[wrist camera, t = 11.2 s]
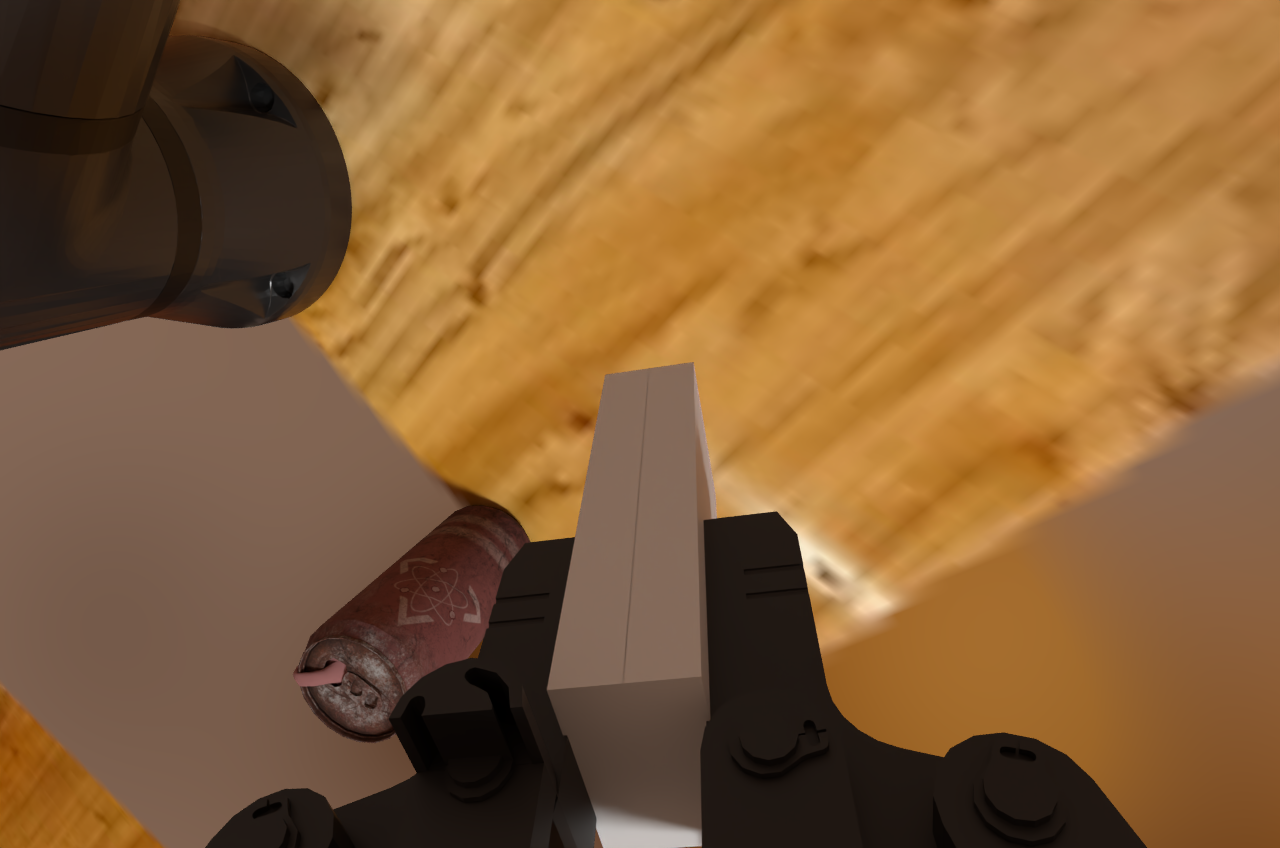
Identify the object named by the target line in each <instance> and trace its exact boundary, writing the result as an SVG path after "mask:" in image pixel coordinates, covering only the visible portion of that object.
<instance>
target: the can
mask: <svg viewBox="0 0 1280 848" xmlns="http://www.w3.org/2000/svg"><path fill="white" fill-rule="evenodd" d="M525 543H530V540H529V538H528V536H527V535H526V533H525V531H524V529H523V528H522V527H521V526H520V524H519V523H518V522H517V521H516V520H515V519H514V518H513V517H511V516H509V515H508V514H506V513H504V512H503V511H501V510H498V509H494V508H490V507H486V506H483V505H481V506H467V507H465V508H462V509H460V510H457V511H455V512H454V513H453V514H452V515H451V516H449V517H448V518H447V519H446V520H445V521H443V522H442V523H441V524H440V525H439V526H438V527H436V528H435V529H434V530H433V531H432V532H431V533H429V534H428V535H427V536H426V537H425V538H423V539H422V540H421V541H420V542H419V543H418V544H416V545H415V546H414V547H413V548H412V549H411V550H409V551H408V552H407V553H406V554H405V555H403V556H402V557H401V558H400V559H399V560H398V561H396V562H395V563H394V564H393V565H392V566H391V567H389V568H388V569H387V570H386V571H385V572H384V573H382V574H381V575H380V576H379V577H378V578H377V579H375V580H374V581H373V582H372V583H371V584H369V585H368V586H367V587H366V588H365V589H364V590H362V591H361V592H360V593H359V594H358V595H357V596H355V597H354V598H353V599H352V600H351V601H349V602H348V603H347V604H346V605H345V606H344V607H343V608H341V609H340V610H339V611H338V612H337V613H336V614H334V615H333V616H332V617H331V618H330V619H328V620H327V621H326V622H325V623H324V624H322V625H321V626H320V627H319V628H318V629H317V630H316V632H314V633H313V634H312V635H311V636H310V639H309V641H308V644H307V647H306V649H305V652H304V653H303V655H302V658H301V661H300V663H299V665H298V666H297V668H296V669H295V671H294V674H293V675H294V679H295V680H296V682H297V683H298V685H299V686H300V687H301V690H302V693H303V696H304V698H305V700H306V702H307V703H308V705H309V706H310V708H311V710H312V711H313V713H314V714H315V715H316V716H317V717H318V718H319V719H320V720H321V721H322V722H323V723H324V724H325V725H326V726H327V727H329V728H330V729H332V730H333V731H335V732H337V733H338V734H340V735H342V736H343V737H346V738H349V739H352V740H355V741H358V742H367V743H377V742H380V741H383V740H387V739H390V738H391V737H392V736H393V735H396V732H395V730H394V729H393V727H392V725H391V723H390V721H389V719H388V718H389V716H390V715H391V713H392V711H393V710H394V708H395V706H396V705H397V703H398V701H399V700H400V698H401V696H402V695H403V694H404V693H406V692H407V691H408V690H409V689H410V688H411V687H412V686H413V685H414V684H415V683H416V682H417V681H418V680H419V679H421V678H422V677H423V676H425V675H427V674H429V673H431V672H433V671H434V670H436V669H438V668H440V667H442V666H444V665H445V664H449V663H453V662H457V661H461V660H465V659H467V658H468V657H469V656H470V655H471V653H472V652H473V651H474V650H475V648H476V647H477V646H478V644H479V643H480V642H481V641H482V639H483V638H484V636H485V632H486V629H487V628H489V623H488V622H489V619H490V615H491V612H492V608H493V605H494V604H496V599H495V598H496V595H497V591H498V588H499V584H500V581H501V578H502V574H503V571H504V569H505V567H506V566H507V565H508V564H509V563H510V561H511V560H512V559H513V558H514V556H515V555H516V554H517V553H518V551H519V550H520V549H521V548H522V546H523V545H524V544H525Z"/></svg>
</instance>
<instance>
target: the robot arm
mask: <svg viewBox="0 0 1280 848" xmlns="http://www.w3.org/2000/svg"><path fill="white" fill-rule="evenodd" d="M179 3H180V0H0V350H4V349H8V348H12V347H16V346H21V345H25V344H30V343H34V342H38V341H42V340H47V339H51V338H55V337H60V336H64V335H68V334H73V333H77V332H81V331H85V330H90V329H94V328H98V327H103V326H107V325H111V324H115V323H120V322H123V321H127V320H132V319H137V318H142V317H153V318H159V319H166V320H173V321H179V322H186V323H193V324H200V325H206V326H213V327H220V328H247V327H254V326H259V325H263V324H266V323H271V322H274V321H278V320H282V319H285V318H288V317H291V316H293V315H296V314H298V313H300V312H301V311H303V310H305V309H306V308H308V307H309V306H311V305H312V304H313V303H314V302H315V301H317V300H318V299H319V298H320V297H321V296H322V295H323V293H324V292H325V291H326V290H327V289H328V287H329V286H330V284H331V283H332V281H333V280H334V278H335V276H336V275H337V273H338V271H339V269H340V266H341V264H342V261H343V259H344V256H345V253H346V249H347V246H348V241H349V236H350V229H351V218H352V202H351V190H350V182H349V177H348V172H347V167H346V163H345V160H344V156H343V153H342V150H341V147H340V145H339V142H338V140H337V137H336V135H335V133H334V130H333V128H332V126H331V124H330V122H329V121H328V119H327V117H326V115H325V114H324V112H323V110H322V109H321V107H320V106H319V104H318V103H317V101H316V100H315V99H314V97H313V96H312V95H311V93H310V92H309V91H308V90H307V89H306V88H305V86H304V85H303V84H302V83H301V82H300V81H299V80H298V79H297V78H296V77H295V76H294V75H293V74H292V73H291V72H289V71H288V70H287V69H286V68H285V67H283V66H282V65H281V64H279V63H278V62H277V61H275V60H274V59H272V58H270V57H269V56H267V55H265V54H263V53H262V52H260V51H257V50H255V49H253V48H251V47H248V46H245V45H242V44H238V43H234V42H229V41H224V40H218V39H213V38H208V37H202V36H191V35H181V36H169V33H170V30H171V27H172V24H173V21H174V18H175V15H176V12H177V9H178V6H179ZM495 599H496V604H494V605H493V608H492V612H491V615H490V619H489V622H488V623H489V628H487V629H486V632H485V636H484V639H483V643H482V646H481V649H480V653H479V656H478V658H469V659H465V660H461V661H457V662H453V663H449V664H445V665H444V666H442V667H440V668H438V669H436V670H434V671H433V672H431V673H429V674H427V675H425V676H423V677H422V678H421V679H419V680H418V681H417V682H416V683H415V684H414V685H413V686H412V687H411V688H410V689H409V690H408V691H407V692H406V693H404V694H403V695H402V696H401V698H400V700H399V701H398V703H397V705H396V706H395V708H394V710H393V711H392V713H391V715H390V716H389V718H388V719H389V721H390V723H391V725H392V727H393V729H394V730H395V732H396V734H397V736H398V738H399V740H400V742H401V744H402V746H403V748H404V749H405V751H406V753H407V755H408V757H409V759H410V760H411V763H412V765H413V767H414V768H415V770H416V772H417V773H416V774H415V775H414V776H412V777H411V778H410V779H408V780H406V781H404V782H402V783H399V784H397V785H395V786H393V787H391V788H389V789H386V790H384V791H381V792H378V793H376V794H373V795H371V796H368V797H365V798H363V799H360V800H357V801H355V802H352V803H350V804H347V805H344V806H342V807H339V808H336V809H334V810H333V809H332V808H331V806H330V804H329V803H328V801H327V800H326V798H325V797H324V796H322V795H320V794H318V793H316V792H314V791H312V790H310V789H308V788H306V789H284V790H281V791H279V792H276V793H273V794H270V795H268V796H265V797H263V798H260V799H258V800H257V801H255V802H253V803H252V804H251V805H249V806H248V807H246V808H245V809H243V810H242V811H240V812H239V813H238V814H236V815H234V816H233V817H232V818H231V819H230V820H229V822H228V823H226V825H225V826H224V827H223V828H222V829H221V830H220V831H219V832H218V833H217V834H216V835H215V836H214V837H213V838H212V840H211V841H210V842H209V843H208V845H207V846H206V847H205V848H594V841H595V830H596V829H597V831H598V834H599V837H600V840H601V843H602V845H603V848H677V847H694V846H702V848H1147V847H1146V846H1145V844H1144V843H1143V842H1142V841H1141V839H1140V838H1139V837H1138V836H1137V834H1136V833H1135V832H1134V831H1133V829H1132V828H1131V827H1130V826H1129V824H1128V823H1127V822H1126V821H1125V819H1124V818H1123V817H1122V816H1121V814H1120V813H1119V812H1118V810H1117V809H1116V808H1115V807H1114V805H1113V804H1112V803H1111V802H1110V801H1109V799H1108V798H1107V797H1106V795H1105V794H1104V793H1103V792H1102V790H1101V789H1100V788H1099V787H1098V785H1097V784H1096V783H1095V781H1094V780H1093V779H1092V778H1091V777H1090V776H1089V775H1088V774H1087V773H1086V772H1084V771H1083V770H1082V769H1081V768H1080V767H1079V766H1078V765H1077V764H1076V763H1075V762H1074V761H1073V760H1072V759H1071V758H1069V757H1068V756H1067V755H1066V754H1064V753H1062V752H1060V751H1058V750H1056V749H1054V748H1052V747H1050V746H1048V745H1046V744H1044V743H1042V742H1040V741H1039V740H1037V739H1033V738H1028V737H1023V736H1017V735H1013V734H1008V733H995V734H986V735H977V736H973V737H971V738H969V739H967V740H965V741H963V742H961V743H959V744H957V745H956V746H954V747H952V748H950V750H949V751H948V752H947V754H946V755H945V757H940V756H935V755H930V754H926V753H921V752H916V751H912V750H907V749H903V748H899V747H896V746H892V745H889V744H886V743H883V742H880V741H877V740H876V739H874V738H872V737H870V736H868V735H867V734H865V733H863V732H861V731H860V730H858V729H857V728H856V727H855V726H854V725H852V724H851V723H850V722H849V721H848V720H847V719H846V718H844V717H843V715H842V714H841V713H840V711H839V710H838V708H837V707H836V706H835V704H834V703H833V701H832V698H831V696H830V693H829V690H828V687H827V684H826V679H825V673H824V668H823V663H822V658H821V653H820V648H819V643H818V638H817V633H816V628H815V623H814V617H813V612H812V607H811V602H810V597H809V593H808V587H807V582H806V577H805V572H804V568H803V561H802V556H801V551H800V546H799V541H798V536H797V534H796V532H795V531H794V530H793V529H792V528H791V527H790V526H789V525H788V524H787V522H786V521H785V520H784V519H783V518H782V517H781V516H780V515H779V513H778V512H768V513H759V514H751V515H742V516H734V517H725V518H717V512H716V495H715V488H714V482H713V476H712V470H711V464H710V458H709V452H708V446H707V440H706V434H705V428H704V422H703V416H702V410H701V404H700V398H699V392H698V386H697V380H696V374H695V368H694V362H691V363H684V364H677V365H670V366H663V367H656V368H649V369H642V370H635V371H629V372H622V373H615V374H608V375H605V380H604V385H603V390H602V396H601V401H600V406H599V412H598V417H597V423H596V428H595V433H594V439H593V444H592V450H591V455H590V460H589V466H588V471H587V476H586V482H585V487H584V493H583V498H582V503H581V509H580V514H579V519H578V525H577V530H576V536H575V537H573V538H564V539H556V540H547V541H538V542H530V543H525V544H524V545H523V546H522V548H521V549H520V550H519V551H518V553H517V554H516V555H515V556H514V558H513V559H512V560H511V561H510V563H509V564H508V565H507V566H506V567H505V569H504V571H503V574H502V578H501V581H500V584H499V588H498V591H497V595H496V598H495Z"/></svg>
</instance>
